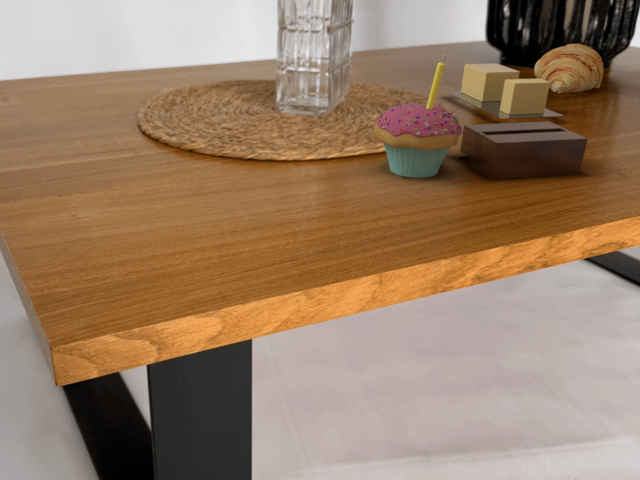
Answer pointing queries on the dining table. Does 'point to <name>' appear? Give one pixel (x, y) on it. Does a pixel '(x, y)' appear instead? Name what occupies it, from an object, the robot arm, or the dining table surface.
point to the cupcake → (418, 134)
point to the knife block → (522, 149)
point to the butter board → (497, 111)
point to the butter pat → (524, 96)
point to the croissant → (570, 68)
